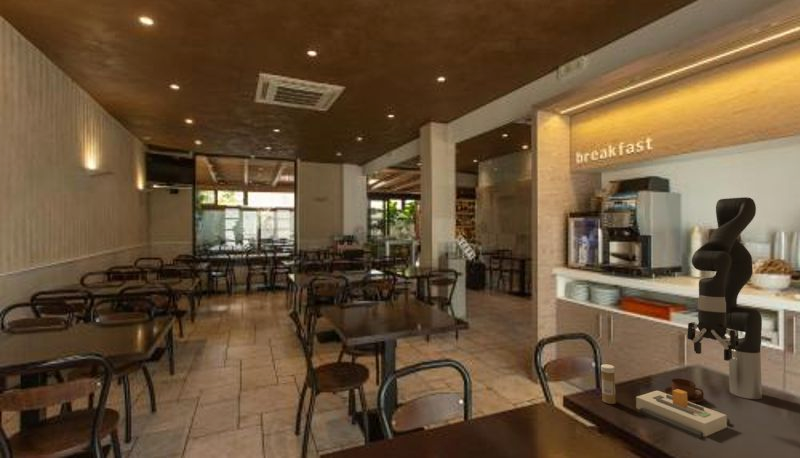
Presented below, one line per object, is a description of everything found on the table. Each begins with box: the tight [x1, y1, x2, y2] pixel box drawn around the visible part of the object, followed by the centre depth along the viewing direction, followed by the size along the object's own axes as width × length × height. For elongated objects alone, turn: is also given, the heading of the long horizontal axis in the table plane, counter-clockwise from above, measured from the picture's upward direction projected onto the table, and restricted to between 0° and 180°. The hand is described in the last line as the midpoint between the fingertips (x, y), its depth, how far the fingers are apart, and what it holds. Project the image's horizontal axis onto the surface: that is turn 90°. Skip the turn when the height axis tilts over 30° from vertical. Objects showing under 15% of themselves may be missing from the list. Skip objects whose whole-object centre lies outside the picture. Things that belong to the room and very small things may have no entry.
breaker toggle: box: [673, 389, 688, 407], centre depth 133 cm, size 3×3×5 cm
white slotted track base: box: [638, 408, 731, 440], centre depth 132 cm, size 19×20×1 cm
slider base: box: [635, 390, 728, 437], centre depth 133 cm, size 12×22×5 cm, turn 25°
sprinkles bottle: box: [600, 363, 616, 405], centre depth 146 cm, size 5×5×13 cm
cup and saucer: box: [663, 378, 705, 404], centre depth 148 cm, size 12×12×6 cm
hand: (712, 356), depth 133 cm, fingers open, 8 cm apart
